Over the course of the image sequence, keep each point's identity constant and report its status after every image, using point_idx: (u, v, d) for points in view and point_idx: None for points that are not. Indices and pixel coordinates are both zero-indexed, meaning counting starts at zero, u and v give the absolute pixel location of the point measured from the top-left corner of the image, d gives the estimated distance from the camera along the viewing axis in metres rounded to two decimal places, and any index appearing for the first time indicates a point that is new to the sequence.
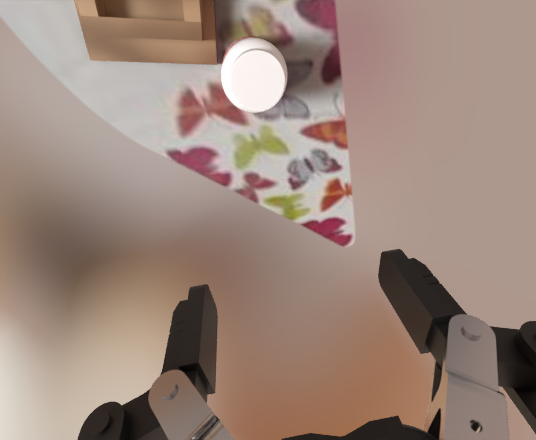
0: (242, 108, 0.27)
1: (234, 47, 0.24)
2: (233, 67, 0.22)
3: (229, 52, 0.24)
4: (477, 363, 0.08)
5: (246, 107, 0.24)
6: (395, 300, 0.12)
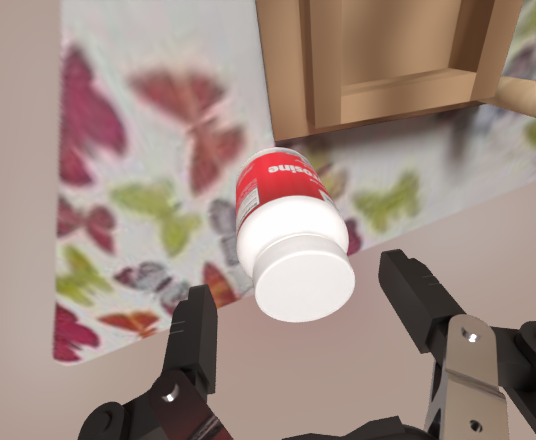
0: (242, 245, 0.14)
1: (336, 217, 0.14)
2: (326, 254, 0.12)
3: (328, 210, 0.14)
4: (478, 363, 0.08)
5: (259, 284, 0.12)
6: (395, 300, 0.12)
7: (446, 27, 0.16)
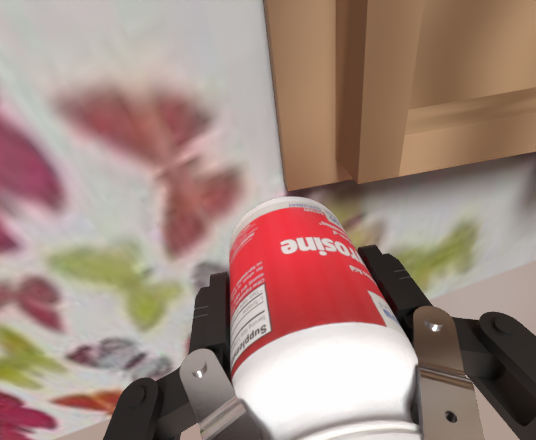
0: None
1: (410, 358, 0.08)
2: None
3: (397, 349, 0.08)
4: (443, 352, 0.08)
5: None
6: None
7: None
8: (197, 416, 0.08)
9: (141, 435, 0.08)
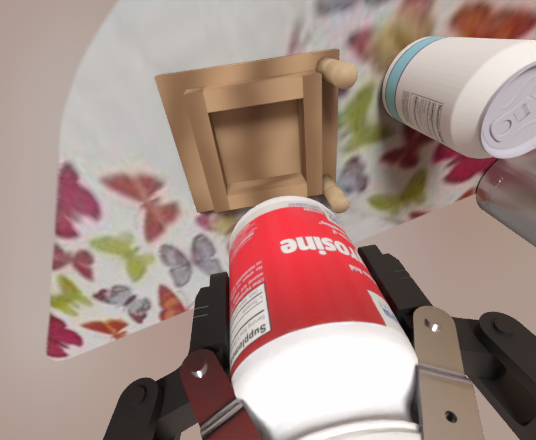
0: None
1: (409, 358, 0.08)
2: None
3: (396, 348, 0.08)
4: (443, 352, 0.08)
5: None
6: None
7: (293, 152, 0.27)
8: (197, 417, 0.08)
9: (141, 435, 0.08)
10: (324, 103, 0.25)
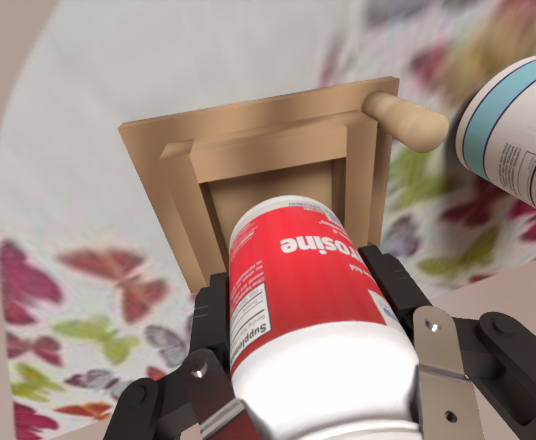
0: None
1: (410, 357, 0.08)
2: None
3: (397, 348, 0.08)
4: (443, 352, 0.08)
5: None
6: None
7: None
8: (197, 417, 0.08)
9: (141, 435, 0.08)
10: None
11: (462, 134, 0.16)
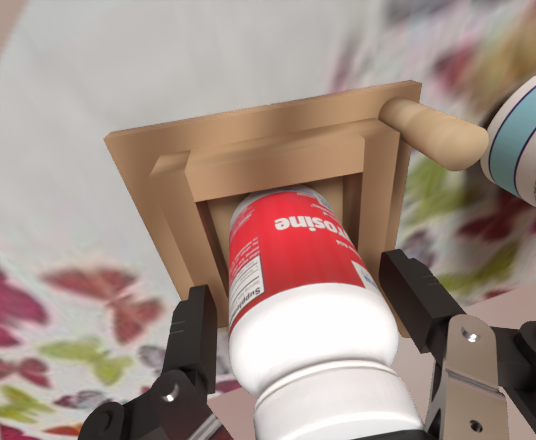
0: (237, 359, 0.09)
1: (385, 315, 0.09)
2: (387, 416, 0.07)
3: (373, 306, 0.09)
4: (477, 363, 0.08)
5: None
6: (395, 300, 0.12)
7: None
8: None
9: None
10: None
11: (489, 144, 0.15)
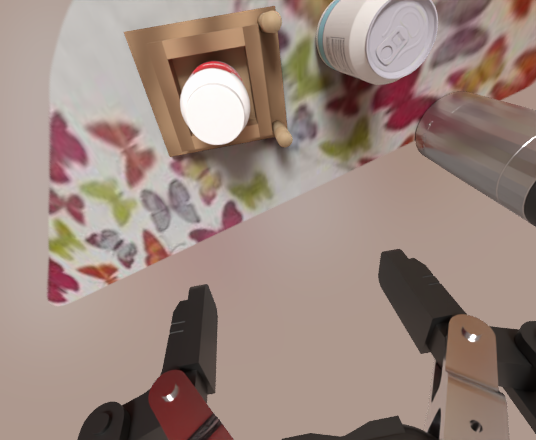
0: (182, 100, 0.24)
1: (237, 81, 0.23)
2: (222, 87, 0.21)
3: (232, 76, 0.23)
4: (477, 363, 0.08)
5: (187, 109, 0.22)
6: (395, 300, 0.12)
7: None
8: None
9: None
10: (268, 54, 0.30)
11: (317, 41, 0.29)
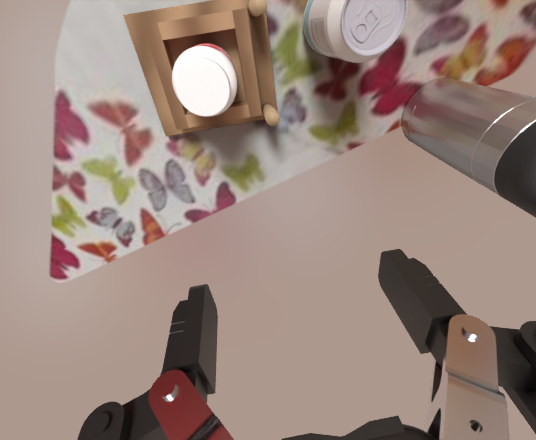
0: (173, 75, 0.26)
1: (224, 58, 0.25)
2: (209, 61, 0.23)
3: (219, 53, 0.25)
4: (477, 363, 0.08)
5: (177, 81, 0.24)
6: (395, 300, 0.12)
7: (238, 82, 0.34)
8: None
9: None
10: (258, 38, 0.32)
11: (304, 26, 0.31)
